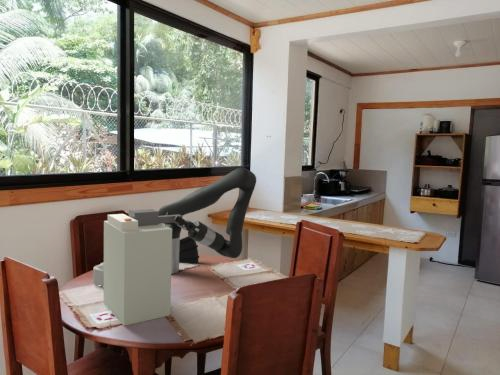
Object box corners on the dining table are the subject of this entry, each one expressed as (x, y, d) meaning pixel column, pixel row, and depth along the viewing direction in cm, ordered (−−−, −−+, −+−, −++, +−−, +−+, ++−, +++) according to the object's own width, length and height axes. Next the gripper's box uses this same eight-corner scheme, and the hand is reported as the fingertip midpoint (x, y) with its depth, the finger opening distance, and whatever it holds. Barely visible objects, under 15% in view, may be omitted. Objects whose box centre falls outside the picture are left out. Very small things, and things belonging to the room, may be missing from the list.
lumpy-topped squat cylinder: (119, 287, 169) (119, 267, 168) (89, 286, 169) (89, 266, 168) (126, 279, 179) (127, 261, 178) (98, 278, 179) (98, 259, 178)
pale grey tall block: (103, 302, 152) (103, 211, 149) (145, 294, 162) (147, 209, 159) (123, 325, 133) (124, 222, 130) (170, 315, 143) (172, 218, 140)
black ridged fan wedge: (202, 261, 206) (191, 235, 206) (180, 270, 208) (169, 244, 208) (204, 259, 210) (193, 234, 209) (182, 268, 212) (171, 242, 212)
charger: (128, 223, 146) (128, 210, 145) (176, 219, 157) (177, 207, 157) (134, 226, 141) (134, 212, 141) (183, 222, 152) (184, 209, 152)
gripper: (198, 222, 168) (167, 205, 159) (215, 228, 156) (183, 210, 147) (189, 238, 166) (158, 221, 157) (206, 245, 155) (174, 228, 146)
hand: (170, 216), depth 152 cm, fingers open, 8 cm apart
